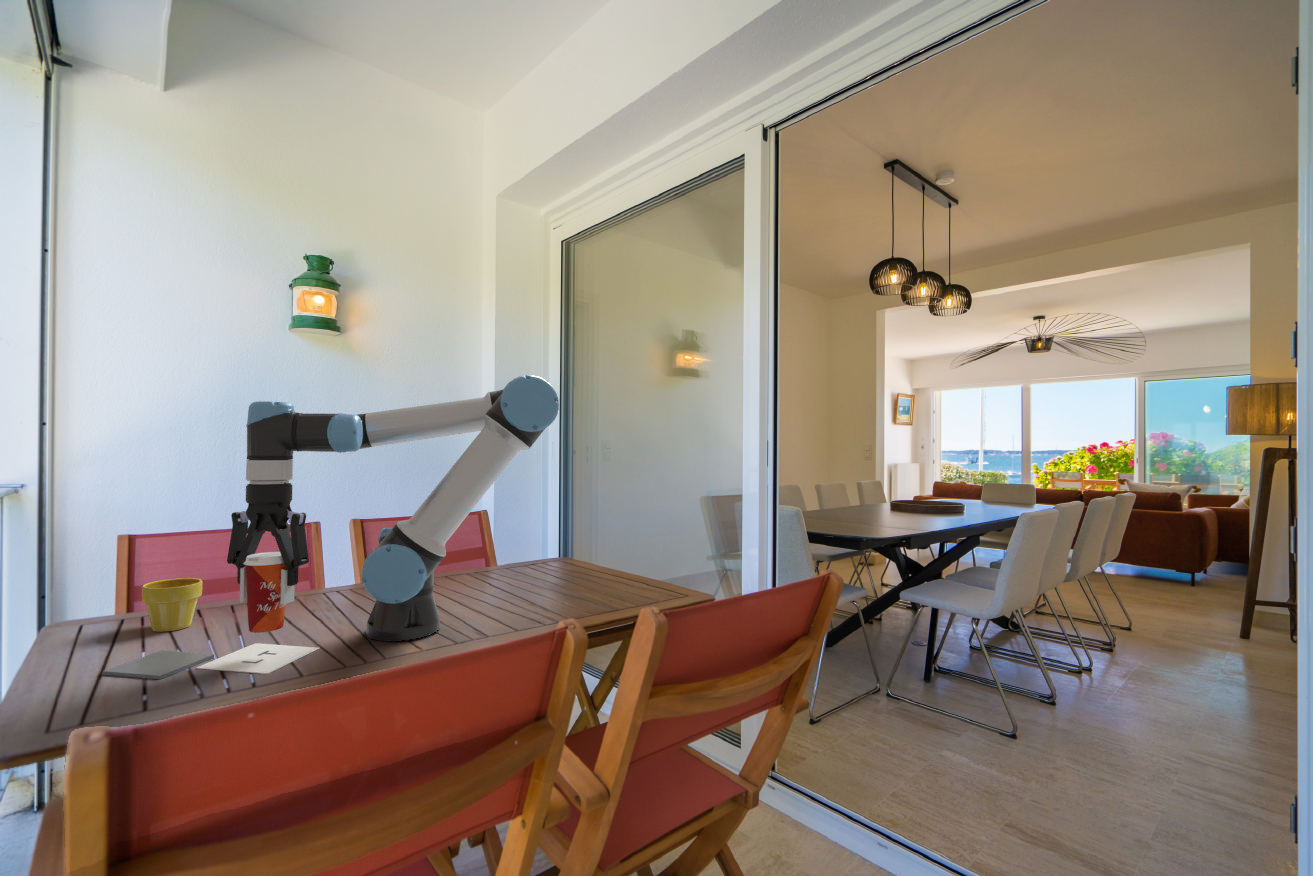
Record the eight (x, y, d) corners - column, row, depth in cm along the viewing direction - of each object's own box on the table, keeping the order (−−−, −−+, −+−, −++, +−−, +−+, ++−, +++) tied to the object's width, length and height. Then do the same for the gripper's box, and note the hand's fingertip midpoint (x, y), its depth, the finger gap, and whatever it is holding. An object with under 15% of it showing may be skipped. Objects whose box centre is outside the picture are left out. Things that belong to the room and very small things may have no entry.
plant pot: (128, 630, 128) (130, 584, 128) (182, 618, 137) (184, 575, 138) (158, 637, 124) (160, 590, 124) (211, 625, 134) (213, 580, 134)
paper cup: (266, 635, 110) (268, 559, 110) (231, 632, 112) (233, 557, 112) (300, 623, 118) (301, 552, 118) (266, 621, 119) (268, 550, 120)
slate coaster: (213, 657, 114) (213, 654, 114) (160, 679, 103) (160, 675, 103) (161, 653, 115) (161, 650, 115) (102, 674, 104) (102, 671, 104)
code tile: (319, 648, 121) (319, 647, 121) (267, 674, 107) (267, 673, 107) (255, 644, 122) (255, 643, 122) (195, 668, 108) (195, 667, 108)
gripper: (332, 482, 118) (330, 598, 117) (236, 480, 120) (233, 595, 120) (306, 484, 110) (303, 609, 110) (204, 482, 112) (201, 604, 112)
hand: (267, 601), depth 115 cm, fingers closed on paper cup, 8 cm apart
